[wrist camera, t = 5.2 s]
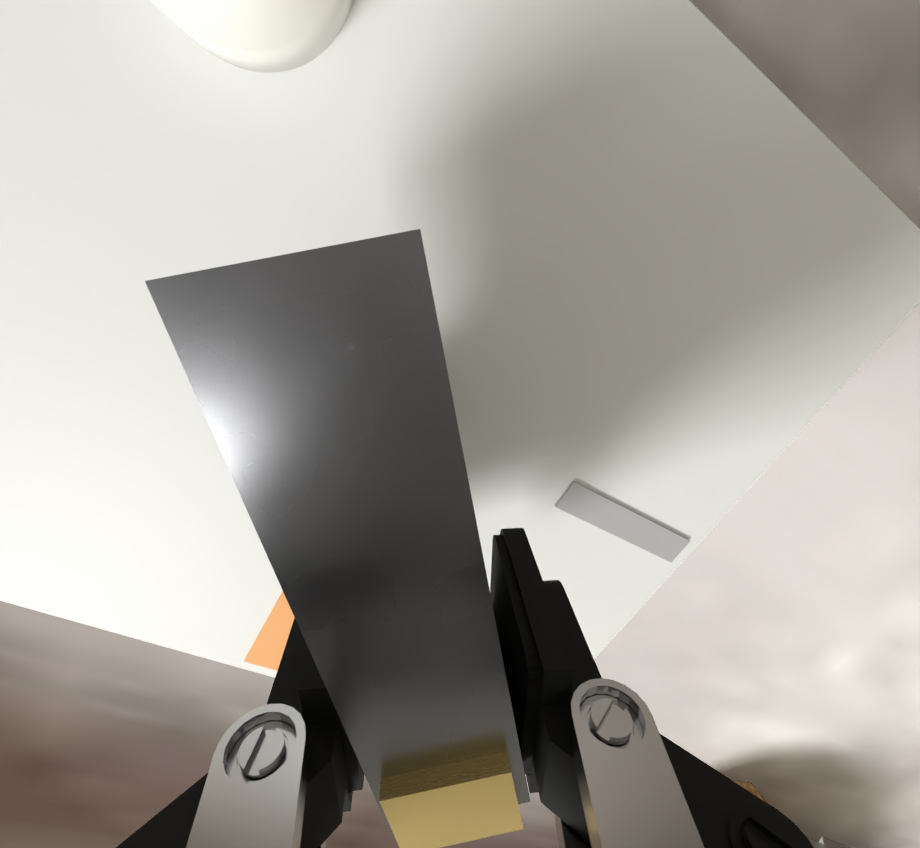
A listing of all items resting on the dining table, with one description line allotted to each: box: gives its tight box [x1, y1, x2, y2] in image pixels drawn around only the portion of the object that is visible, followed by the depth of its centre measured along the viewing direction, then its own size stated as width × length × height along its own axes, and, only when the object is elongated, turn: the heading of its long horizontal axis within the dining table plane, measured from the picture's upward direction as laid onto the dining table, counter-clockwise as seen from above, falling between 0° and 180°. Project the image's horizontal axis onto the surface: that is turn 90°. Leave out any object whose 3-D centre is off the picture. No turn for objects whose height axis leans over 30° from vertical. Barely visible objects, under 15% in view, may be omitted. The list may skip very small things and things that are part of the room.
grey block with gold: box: [145, 229, 530, 848], centre depth 9 cm, size 9×2×7 cm, turn 10°
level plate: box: [0, 0, 920, 678], centre depth 12 cm, size 22×22×3 cm
